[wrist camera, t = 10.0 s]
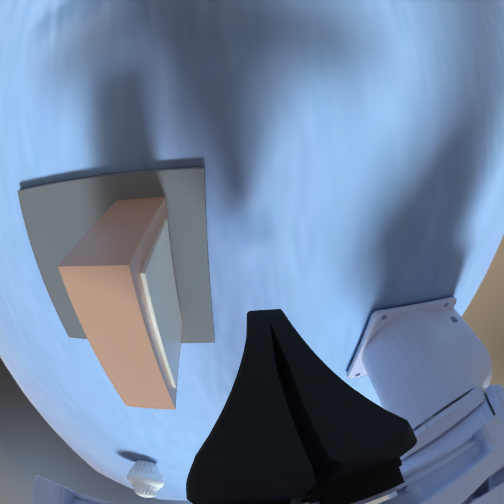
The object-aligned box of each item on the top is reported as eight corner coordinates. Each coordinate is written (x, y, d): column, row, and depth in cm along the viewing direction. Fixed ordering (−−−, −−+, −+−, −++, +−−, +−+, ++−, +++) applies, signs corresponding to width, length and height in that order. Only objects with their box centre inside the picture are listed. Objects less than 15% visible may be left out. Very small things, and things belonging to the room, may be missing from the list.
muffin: (120, 457, 31) (117, 492, 25) (147, 456, 30) (145, 495, 24) (145, 467, 34) (144, 500, 28) (172, 467, 33) (172, 502, 27)
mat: (204, 166, 12) (204, 168, 12) (214, 338, 17) (214, 342, 17) (21, 188, 11) (17, 191, 11) (70, 333, 16) (69, 337, 16)
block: (168, 196, 12) (133, 264, 7) (185, 324, 16) (178, 409, 11) (116, 200, 12) (57, 266, 7) (144, 324, 16) (126, 405, 11)
